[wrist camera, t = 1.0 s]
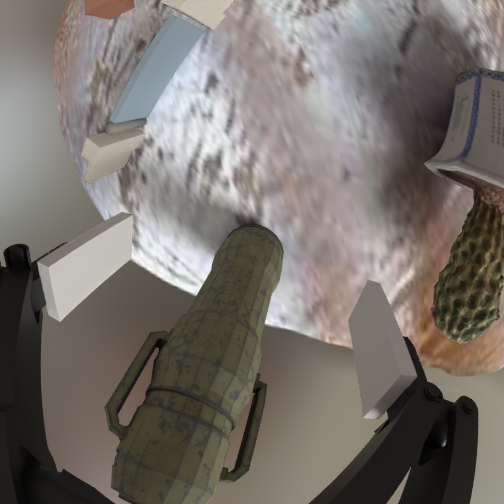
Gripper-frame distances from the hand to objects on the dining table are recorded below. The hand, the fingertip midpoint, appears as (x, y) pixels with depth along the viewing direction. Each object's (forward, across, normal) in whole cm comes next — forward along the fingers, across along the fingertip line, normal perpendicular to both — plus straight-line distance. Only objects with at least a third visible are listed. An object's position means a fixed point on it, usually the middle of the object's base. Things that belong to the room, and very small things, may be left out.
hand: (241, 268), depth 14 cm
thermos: (+24, -1, -10) cm, 26 cm away
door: (+21, -17, +12) cm, 30 cm away
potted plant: (+22, +24, +9) cm, 33 cm away
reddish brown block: (+20, -28, +25) cm, 43 cm away
